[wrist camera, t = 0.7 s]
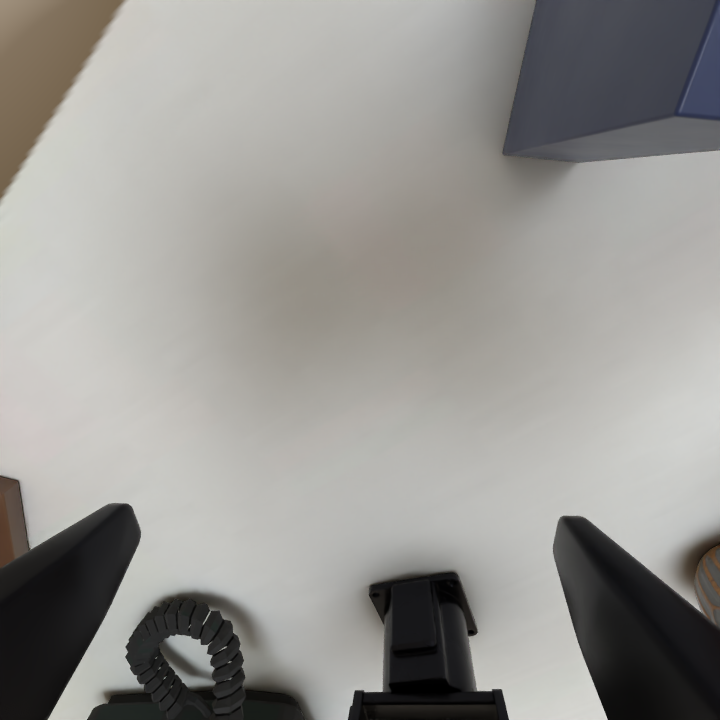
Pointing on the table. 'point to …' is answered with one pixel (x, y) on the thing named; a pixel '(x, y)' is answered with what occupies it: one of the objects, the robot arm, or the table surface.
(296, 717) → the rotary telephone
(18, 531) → the book rack
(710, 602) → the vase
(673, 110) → the navy book
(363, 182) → the table surface
